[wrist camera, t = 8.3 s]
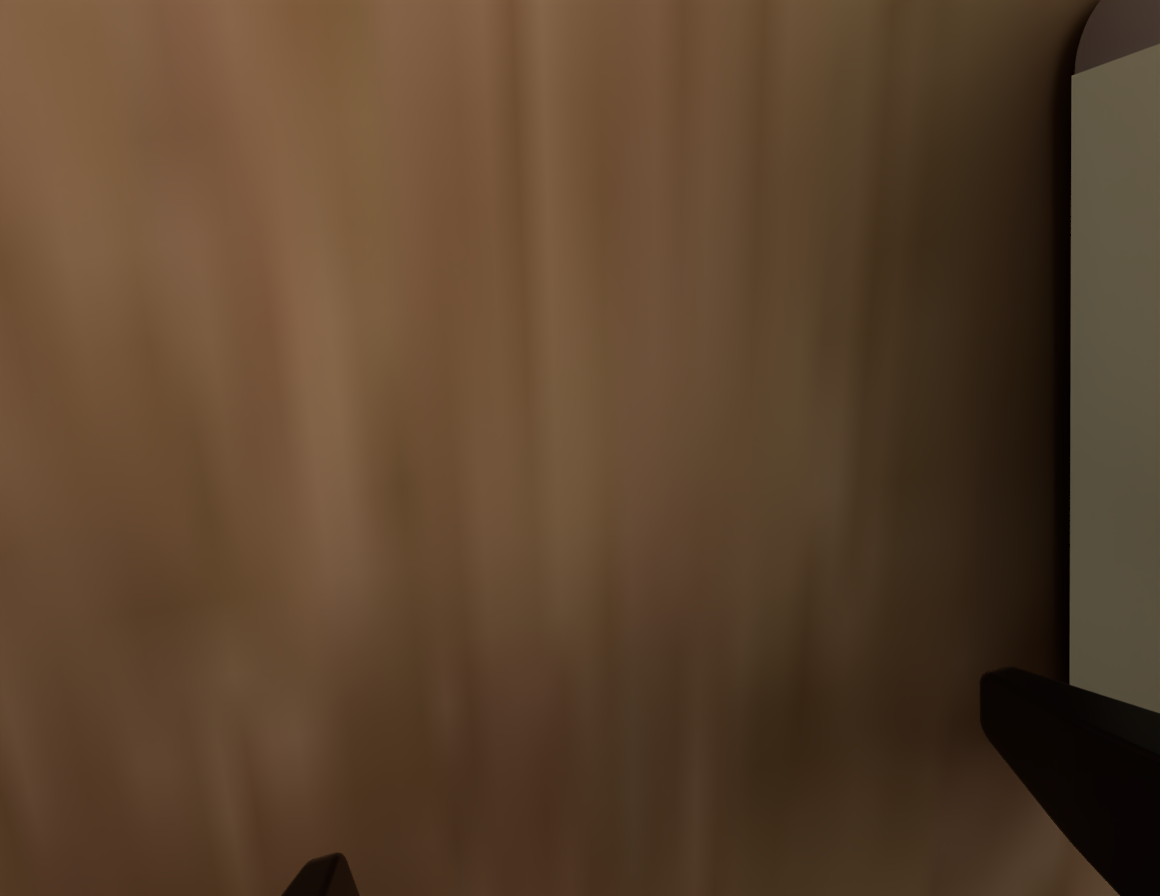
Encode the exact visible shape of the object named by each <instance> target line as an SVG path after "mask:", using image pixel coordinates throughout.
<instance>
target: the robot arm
mask: <svg viewBox="0 0 1160 896" xmlns="http://www.w3.org/2000/svg"><path fill="white" fill-rule="evenodd" d="M980 722H981V726H982V729H983V731H984V733H985V735H986V737H987V738H988V740H989V741H990V742H991V744H992V745H993V746H994V747H995V749H996V750H997V751H998V752H999V754H1000V755H1001V756H1002V757H1003V759H1004V760H1005V761H1006V762H1007V764H1008V765H1009V766H1010V767H1011V769H1012V770H1013V771H1014V773H1015V774H1016V775H1017V776H1018V778H1019V779H1020V780H1021V781H1022V783H1023V784H1024V785H1025V786H1026V788H1027V789H1028V790H1029V791H1030V793H1031V794H1032V795H1033V796H1034V798H1035V799H1036V800H1037V801H1038V803H1039V804H1040V805H1041V806H1042V808H1043V809H1044V810H1045V811H1046V813H1047V814H1048V815H1049V816H1050V818H1051V819H1052V820H1053V821H1054V823H1055V824H1056V825H1057V826H1058V828H1059V829H1060V830H1061V831H1062V832H1063V834H1064V835H1065V836H1066V837H1067V838H1068V839H1069V841H1070V842H1071V843H1072V844H1073V845H1074V846H1075V848H1076V849H1077V850H1078V851H1079V852H1080V853H1081V854H1082V855H1083V856H1084V858H1085V859H1086V860H1087V861H1088V862H1089V863H1090V864H1091V865H1092V866H1093V867H1094V868H1095V869H1096V870H1097V872H1098V873H1099V874H1100V875H1101V876H1102V877H1103V878H1104V879H1105V880H1106V881H1107V882H1108V883H1109V884H1110V885H1111V887H1112V888H1113V889H1114V890H1115V891H1116V892H1117V893H1118V894H1119V895H1120V896H1160V713H1158V712H1155V711H1151V710H1148V709H1145V708H1142V707H1139V706H1136V705H1132V704H1129V703H1126V702H1123V701H1120V700H1117V699H1113V698H1110V697H1107V696H1104V695H1101V694H1098V693H1094V692H1091V691H1088V690H1085V689H1082V688H1079V687H1075V686H1072V685H1069V684H1066V683H1063V682H1060V681H1056V680H1053V679H1050V678H1047V677H1044V676H1041V675H1037V674H1034V673H1031V672H1028V671H1025V670H1022V669H1018V668H1015V667H1003V668H1000V669H996V670H992V671H989V672H986V673H984V674H983V675H982V677H981V679H980ZM281 896H360V895H359V893H358V890H357V887H356V884H355V882H354V879H353V876H352V873H351V871H350V868H349V865H348V862H347V860H346V858H345V856H344V855H343V854H342V853H333V854H329V855H325V856H322V857H318V858H315V859H312V860H310V861H309V862H307V863H306V864H305V865H304V867H303V868H302V869H301V870H300V872H299V873H298V874H297V876H296V877H295V878H294V880H293V881H292V882H291V884H290V885H289V886H288V887H287V889H286V890H285V891H284V893H283V894H282V895H281Z"/></svg>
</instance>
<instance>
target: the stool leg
mask: <svg viewBox="0 0 1160 896" xmlns="http://www.w3.org/2000/svg"><path fill="white" fill-rule="evenodd" d="M1070 685H1072V686H1075V687H1079V688H1082V689H1085V690H1088V691H1091V692H1094V693H1098V694H1101V695H1104V696H1107V697H1110V698H1113V699H1117V700H1120V701H1123V702H1126V703H1129V704H1132V705H1136V706H1139V707H1142V708H1145V709H1148V710H1151V711H1155V712H1158V713H1160V0H1100V1H1099V3H1098V4H1097V5H1096V7H1095V9H1094V10H1093V12H1092V14H1091V15H1090V17H1089V19H1088V21H1087V23H1086V25H1085V28H1084V30H1083V33H1082V36H1081V39H1080V42H1079V46H1078V50H1077V55H1076V62H1075V75H1072V82H1071V395H1070Z"/></svg>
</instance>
